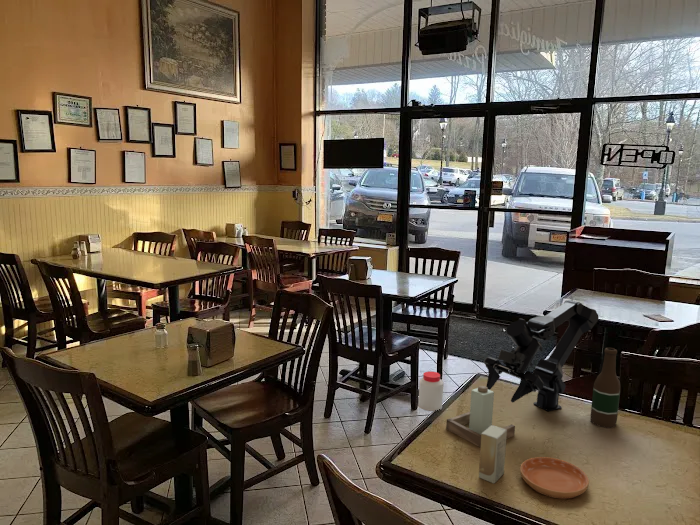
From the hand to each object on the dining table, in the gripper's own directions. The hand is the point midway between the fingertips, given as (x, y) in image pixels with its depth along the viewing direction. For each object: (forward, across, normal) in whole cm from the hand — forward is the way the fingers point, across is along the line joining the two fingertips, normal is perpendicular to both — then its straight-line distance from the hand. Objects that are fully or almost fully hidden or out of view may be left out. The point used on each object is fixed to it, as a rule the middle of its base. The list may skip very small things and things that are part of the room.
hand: (498, 396), depth 162 cm
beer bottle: (-14, +18, +28) cm, 36 cm away
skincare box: (+23, +17, -11) cm, 31 cm away
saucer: (+16, +28, -4) cm, 33 cm away
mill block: (+12, 0, +1) cm, 12 cm away
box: (+12, 0, +1) cm, 12 cm away
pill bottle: (+12, -21, +2) cm, 25 cm away
